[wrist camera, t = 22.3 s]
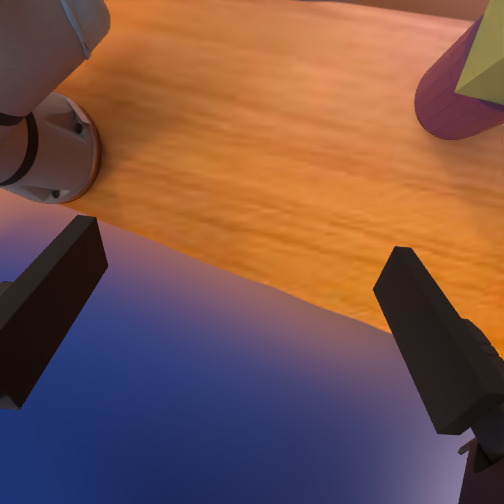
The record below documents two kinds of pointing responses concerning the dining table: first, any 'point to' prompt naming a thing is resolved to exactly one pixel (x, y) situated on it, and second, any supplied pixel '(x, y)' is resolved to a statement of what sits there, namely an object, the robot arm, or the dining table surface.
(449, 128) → the jar
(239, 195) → the dining table surface
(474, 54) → the green block
